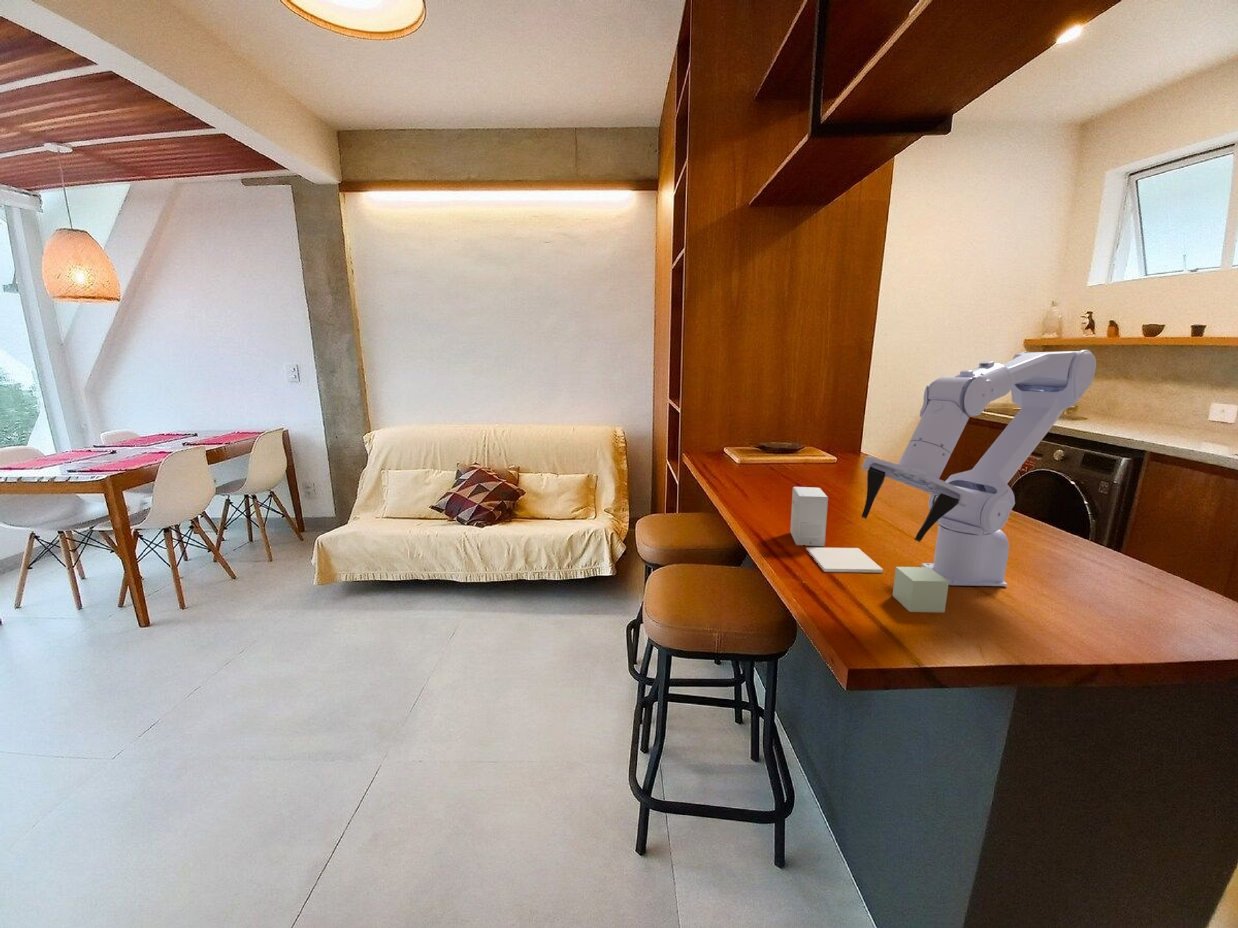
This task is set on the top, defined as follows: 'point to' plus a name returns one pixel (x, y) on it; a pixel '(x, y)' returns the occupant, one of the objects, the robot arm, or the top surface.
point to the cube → (920, 589)
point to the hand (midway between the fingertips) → (889, 528)
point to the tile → (843, 560)
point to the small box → (808, 516)
